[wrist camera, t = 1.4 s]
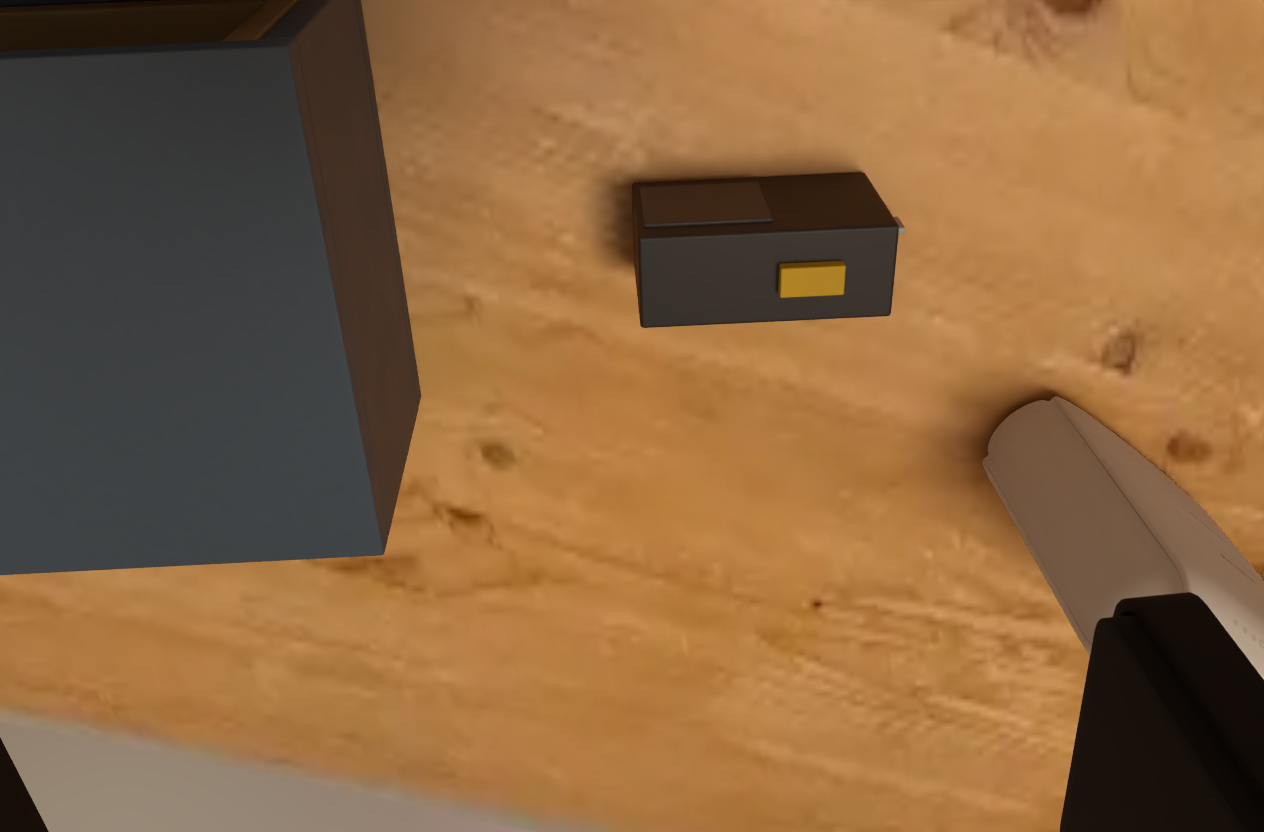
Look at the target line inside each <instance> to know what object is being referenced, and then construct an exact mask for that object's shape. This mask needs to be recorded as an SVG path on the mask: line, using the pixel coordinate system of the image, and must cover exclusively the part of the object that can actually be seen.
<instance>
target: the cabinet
mask: <svg viewBox="0 0 1264 832" xmlns="http://www.w3.org/2000/svg"><path fill="white" fill-rule="evenodd" d="M137 1H160V0H0V7H22V6H45V5H68V4H91V3H114V2H137ZM420 398H421V392H420V386H419V379H418V373H417V366H416V359H415V353H414V346H413V340H412V333H411V327H410V320H409V314H408V307H407V301H406V294H405V287H404V281H403V274H402V268H401V261H400V255H399V248H398V242H397V235H396V229H395V222H394V215H393V209H392V202H391V196H390V189H389V183H388V176H387V170H386V163H385V157H384V150H383V143H382V137H381V130H380V124H379V117H378V111H377V104H376V98H375V91H374V85H373V78H372V71H371V65H370V58H369V52H368V45H367V39H366V32H365V26H364V19H363V13H362V6H361V0H301V1H300V2H299V3H298V4H297V5H296V6H295V7H294V8H293V9H291V10H290V11H289V12H288V13H287V14H286V15H285V16H284V17H283V18H282V19H281V20H280V21H279V22H278V23H277V24H276V25H275V26H274V27H273V28H272V29H271V30H270V31H269V32H268V33H267V34H266V35H265V36H264V37H263V38H262V39H261V40H243V41H220V42H198V43H175V44H152V45H130V46H107V47H85V48H62V49H39V50H17V51H0V575H12V574H31V573H50V572H69V571H89V570H108V569H127V568H146V567H165V566H184V565H203V564H223V563H242V562H261V561H280V560H299V559H318V558H337V557H357V556H376V555H383V554H384V552H385V548H386V544H387V539H388V535H389V531H390V527H391V523H392V518H393V514H394V510H395V506H396V501H397V497H398V493H399V489H400V484H401V480H402V476H403V472H404V467H405V463H406V459H407V455H408V450H409V446H410V442H411V438H412V433H413V429H414V425H415V421H416V416H417V412H418V407H419V403H420Z"/></svg>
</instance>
